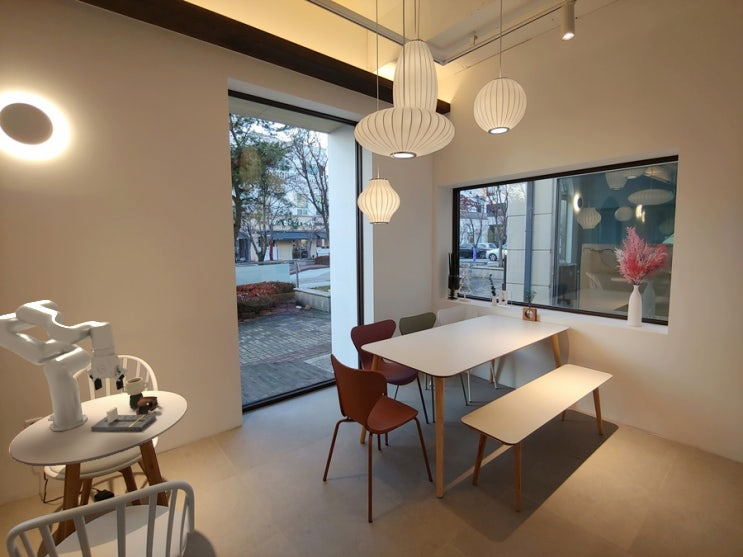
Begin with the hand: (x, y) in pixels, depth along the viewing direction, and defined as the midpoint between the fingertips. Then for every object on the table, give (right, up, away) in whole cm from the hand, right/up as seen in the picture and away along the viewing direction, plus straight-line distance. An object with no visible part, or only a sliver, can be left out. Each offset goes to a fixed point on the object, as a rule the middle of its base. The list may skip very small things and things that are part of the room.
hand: (109, 388), depth 155 cm
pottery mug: (+8, -15, +14) cm, 23 cm away
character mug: (-1, -15, +20) cm, 25 cm away
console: (+5, -17, +2) cm, 18 cm away
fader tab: (0, -14, +2) cm, 15 cm away
